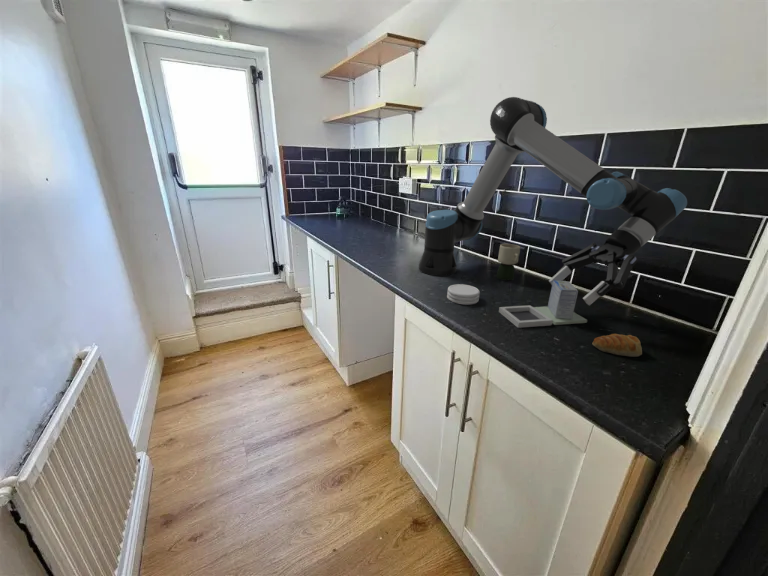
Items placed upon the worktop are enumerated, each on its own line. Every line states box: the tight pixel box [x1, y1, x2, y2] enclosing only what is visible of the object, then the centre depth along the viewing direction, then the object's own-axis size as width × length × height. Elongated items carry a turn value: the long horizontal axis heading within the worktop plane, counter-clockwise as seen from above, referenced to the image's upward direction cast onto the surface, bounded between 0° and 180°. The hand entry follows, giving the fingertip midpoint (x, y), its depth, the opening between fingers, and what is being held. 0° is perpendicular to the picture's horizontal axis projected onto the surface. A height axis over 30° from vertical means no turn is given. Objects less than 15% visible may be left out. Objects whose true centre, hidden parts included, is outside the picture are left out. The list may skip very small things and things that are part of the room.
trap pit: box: [498, 304, 553, 329], centre depth 91 cm, size 10×10×2 cm
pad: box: [533, 305, 588, 326], centre depth 93 cm, size 10×10×1 cm
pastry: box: [591, 333, 643, 358], centre depth 76 cm, size 9×7×4 cm
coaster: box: [446, 283, 481, 306], centre depth 104 cm, size 10×10×4 cm
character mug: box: [496, 243, 521, 281], centre depth 121 cm, size 11×7×13 cm, turn 13°
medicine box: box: [547, 280, 579, 319], centre depth 92 cm, size 8×4×9 cm, turn 169°
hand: (567, 292), depth 91 cm, fingers open, 13 cm apart
